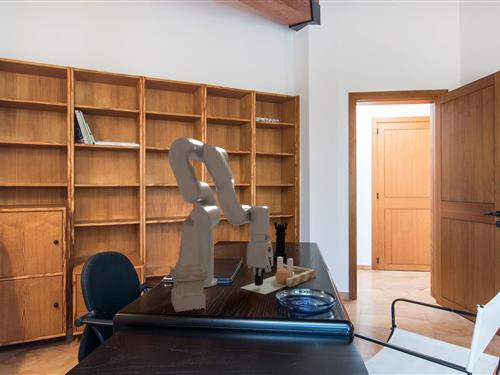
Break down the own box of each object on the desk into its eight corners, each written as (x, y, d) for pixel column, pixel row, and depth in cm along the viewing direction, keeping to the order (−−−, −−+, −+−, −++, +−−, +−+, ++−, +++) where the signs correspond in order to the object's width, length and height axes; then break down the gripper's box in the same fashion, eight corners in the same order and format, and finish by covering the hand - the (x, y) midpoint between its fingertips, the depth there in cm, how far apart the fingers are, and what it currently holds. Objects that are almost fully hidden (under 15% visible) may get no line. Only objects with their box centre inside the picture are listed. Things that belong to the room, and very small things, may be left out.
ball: (285, 287, 146) (275, 286, 142) (280, 274, 149) (270, 273, 146) (295, 278, 143) (285, 277, 139) (289, 266, 147) (279, 265, 143)
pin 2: (288, 281, 148) (288, 259, 148) (286, 279, 150) (286, 258, 150) (293, 281, 148) (293, 259, 148) (291, 279, 151) (291, 258, 151)
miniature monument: (169, 301, 120) (170, 214, 120) (199, 298, 124) (200, 213, 124) (174, 312, 111) (175, 217, 110) (207, 308, 114) (208, 216, 114)
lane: (265, 294, 130) (265, 294, 130) (240, 288, 137) (240, 287, 137) (310, 276, 156) (310, 275, 156) (287, 271, 164) (287, 271, 164)
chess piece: (287, 258, 194) (288, 222, 194) (287, 261, 186) (288, 223, 186) (273, 257, 195) (273, 221, 195) (272, 260, 187) (273, 223, 187)
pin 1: (278, 279, 151) (278, 258, 151) (276, 277, 153) (276, 257, 153) (283, 278, 152) (283, 257, 151) (281, 277, 154) (281, 256, 154)
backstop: (290, 287, 139) (290, 279, 139) (254, 279, 151) (254, 272, 151) (315, 276, 156) (315, 270, 156) (281, 270, 167) (281, 263, 167)
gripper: (280, 238, 135) (280, 286, 135) (250, 234, 144) (249, 279, 144) (269, 241, 129) (268, 291, 129) (238, 236, 138) (237, 283, 138)
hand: (258, 285), depth 137 cm, fingers closed
